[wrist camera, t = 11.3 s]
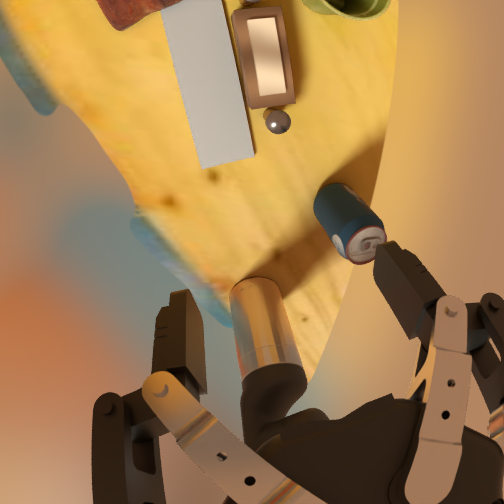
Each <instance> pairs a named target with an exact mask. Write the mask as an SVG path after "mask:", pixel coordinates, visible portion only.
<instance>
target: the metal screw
mask: <svg viewBox="0 0 504 504" xmlns="http://www.w3.org/2000/svg"><path fill="white" fill-rule="evenodd" d="M263 118H264V119H265V123H266V126H267V128H268V129H269V130H270V131H271V132H272V133H275V134H282V133H284V132H286V131H287V130H288V129H289V127H290V125H291V119H290V117H289V115H288V114H287V113H286V112H284V111H282V110H274V109H267V110H265V111H264V113H263Z"/></svg>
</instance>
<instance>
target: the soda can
mask: <svg viewBox="0 0 504 504" xmlns="http://www.w3.org/2000/svg"><path fill="white" fill-rule="evenodd" d="M313 208H314V213H315V216H316V217H317V219H318V221H319V222H320V224H321V225H322V227H323V228H324V230H325V231H326V233H327V235H328V236H329V238H330V239H331V241H332V243H333V244H334V246H335V247H336V249H337V251H338V252H339V254H340V255H341V256H342V257H344V258H345V259H348V260H349V261H350V262H352V263H353V264H357V265H362V264H366V263H369V262H371V261H373V260H374V259H375V253H376V247H377V245H378V244H381V243H385V242H387V235H386V233H385V230H384V225H383V222H382V221H381V219H379V217H378V216H377V215H376V214H375V213H374V212H373V211H372V210H371V209H370V207H369V206H368V205H367V204H366V203H365V202H364V201H363V200H362V199H361V198H360V197H359V196H358V195H357V194H356V193H355V192H354V191H353V190H352V189H351V188H350V187H349V186H347V185H345V184H342V183H334V184H330V185H327V186H325V187H324V188H322V189H321V190H320V191H319V192H318V194H317V196H316V198H315V201H314V207H313Z"/></svg>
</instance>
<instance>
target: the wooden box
mask: <svg viewBox="0 0 504 504" xmlns="http://www.w3.org/2000/svg"><path fill="white" fill-rule="evenodd" d="M231 21H232V26H233V31H234V37H235V42H236V47H237V53H238V58H239V63H240V69H241V74H242V80H243V86H244V91H245V97H246V103H247V105H248V106H249V107H250V108H251V109H252V110H253V109H259V108H265V107H272V106H279V105H286V104H295V103H296V102H295V94H294V86H293V78H292V71H291V64H290V57H289V50H288V44H287V38H286V32H285V26H284V20H283V14H282V9H281V6H274V7H260V8H249V9H241V10H234V11H233V13H232V15H231Z"/></svg>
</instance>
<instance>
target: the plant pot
mask: <svg viewBox="0 0 504 504" xmlns="http://www.w3.org/2000/svg"><path fill="white" fill-rule="evenodd" d="M390 1H391V0H302V2H303V3H304V4H305V5H306V6H307V7H308V8H309V9H311V10H312V11H314V12H317V13H319V14H323V15H341V16H343V17H346V18H349V19H352V20H359V21H366V20H372V19H375V18H378V17H379V16H381V15H382V14H383V13H385V11H386V10H387V9H388V7H389V5H390Z"/></svg>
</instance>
